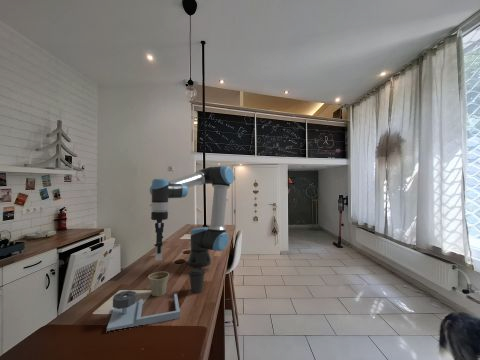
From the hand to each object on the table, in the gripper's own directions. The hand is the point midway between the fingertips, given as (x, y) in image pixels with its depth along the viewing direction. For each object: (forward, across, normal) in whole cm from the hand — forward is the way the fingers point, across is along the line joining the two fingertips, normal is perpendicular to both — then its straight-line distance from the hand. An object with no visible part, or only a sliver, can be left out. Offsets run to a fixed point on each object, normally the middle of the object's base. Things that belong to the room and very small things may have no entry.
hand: (158, 255), depth 106 cm
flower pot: (+18, 0, 0) cm, 18 cm away
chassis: (+18, +16, -4) cm, 24 cm away
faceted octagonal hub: (+12, +16, -12) cm, 24 cm away
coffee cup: (+18, +3, +18) cm, 25 cm away
